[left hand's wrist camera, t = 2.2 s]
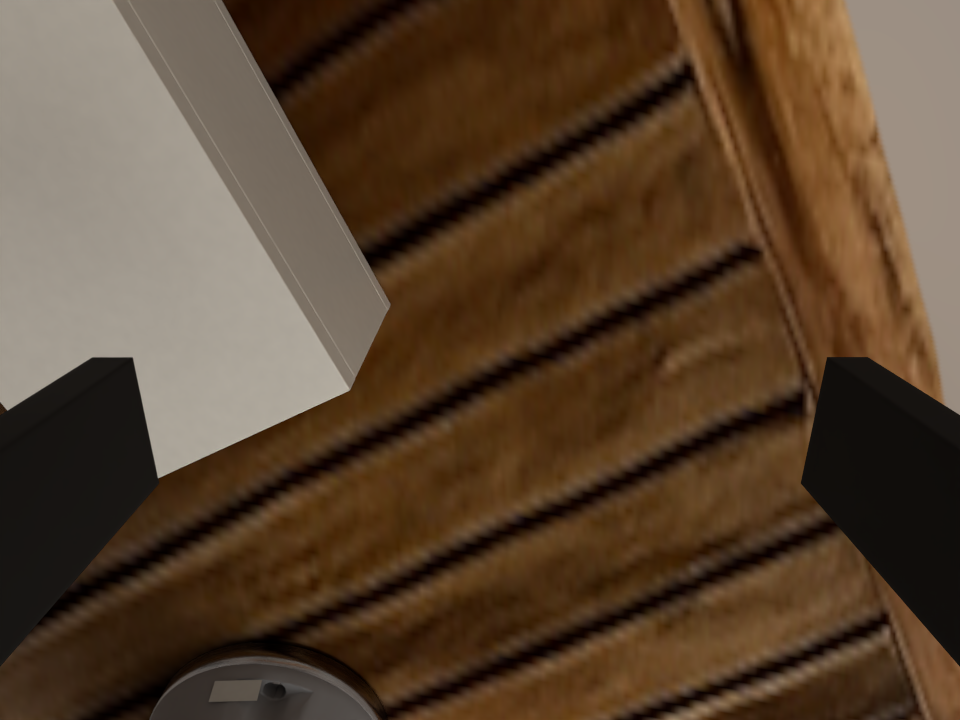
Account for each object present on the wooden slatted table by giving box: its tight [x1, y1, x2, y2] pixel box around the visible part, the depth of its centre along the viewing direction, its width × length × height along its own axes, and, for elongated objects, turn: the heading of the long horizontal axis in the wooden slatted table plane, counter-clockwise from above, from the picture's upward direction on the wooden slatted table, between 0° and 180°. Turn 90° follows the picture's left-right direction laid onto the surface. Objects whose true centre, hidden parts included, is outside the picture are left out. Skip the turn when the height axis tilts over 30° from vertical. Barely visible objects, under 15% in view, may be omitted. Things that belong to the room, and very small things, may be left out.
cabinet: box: [0, 0, 390, 478], centre depth 25 cm, size 21×11×10 cm, turn 26°
